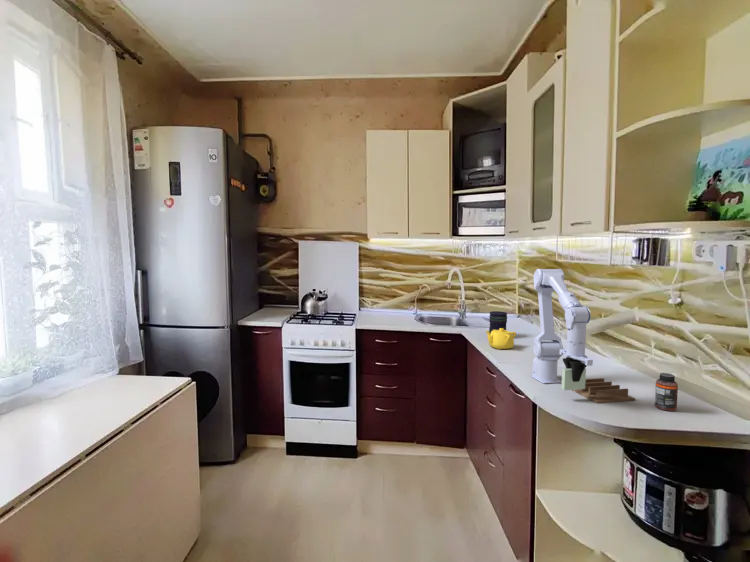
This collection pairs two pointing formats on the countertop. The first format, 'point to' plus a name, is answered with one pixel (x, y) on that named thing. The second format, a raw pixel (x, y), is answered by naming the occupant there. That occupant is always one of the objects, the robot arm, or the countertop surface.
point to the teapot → (501, 338)
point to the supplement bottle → (666, 392)
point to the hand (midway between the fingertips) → (574, 380)
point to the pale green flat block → (568, 381)
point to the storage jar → (497, 320)
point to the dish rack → (603, 391)
